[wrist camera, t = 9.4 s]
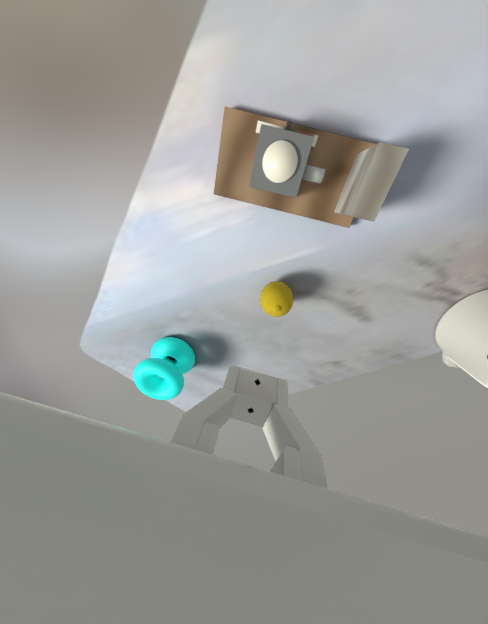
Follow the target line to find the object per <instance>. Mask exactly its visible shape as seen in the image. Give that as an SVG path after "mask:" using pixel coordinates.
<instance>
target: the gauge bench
mask: <svg viewBox="0 0 488 624" xmlns="http://www.w3.org/2000/svg"><path fill="white" fill-rule="evenodd" d="M261 124H264V125H268V126H272V127H276V128H280V129H284V130H286V126H287V122H286V121H282V120H278V119H274V118H270V117H266V116H261V115H257V114H253V113H249V112H245V111H241V110H237V109H233V108H229V107H225V109H224V117H223V125H222V133H221V141H220V149H219V157H218V164H217V172H216V180H215V188H214V194H215V195H219V196H223V197H227V198H231V199H235V200H239V201H243V202H247V203H251V204H255V205H259V206H263V207H267V208H271V209H275V210H279V211H284V212H288V213H292V214H296V215H300V216H304V217H308V218H312V219H316V220H320V221H324V222H328V223H332V224H336V225H340V226H344V227H348V228H349V227H350V225H351V223H352V220H353V218H354V217H355V218H360V219H365V220H370V221H375V219H376V217H377V215H378V213H379V211H380V208H381V206H382V204H383V202H384V200H385V198H386V196H387V194H388V192H389V190H390V188H391V186H392V183H393V181H394V179H395V177H396V175H397V173H398V171H399V169H400V167H401V165H402V163H403V161H404V158H405V156H406V154H407V152H408V150H409V149H407V148H403V147H399V146H395V145H391V144H387V143H383V142H379V143H377V144H374V143H370V142H366V141H362V140H358V139H354V138H350V137H346V136H342V135H338V134H334V133H330V132H326V131H322V130H318V129H314V128H310V127H306V126H302V125H298V124H294V123H292V126H291V130H290V131H292V132H296V133H300V134H304V135H308V136H312V137H314V139H313V143H312V146H311V149H310V153H309V156H308V159H307V163H306V165H310V166H314V167H318V168H322V169H325V174H324V177H323V180H322V182H321V183H320V184H319V183H315V182H311V181H307V180H303V179H302V180H301V183H300V186H299V190H298V193H297V196H296V198H291V197H287V196H283V195H279V194H275V193H271V192H267V191H263V190H259V189H255V188H252V187H250V186H249V184H250V179H251V174H252V169H253V163H254V158H255V153H256V148H257V143H258V138H259V133H260V128H261Z"/></svg>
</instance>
